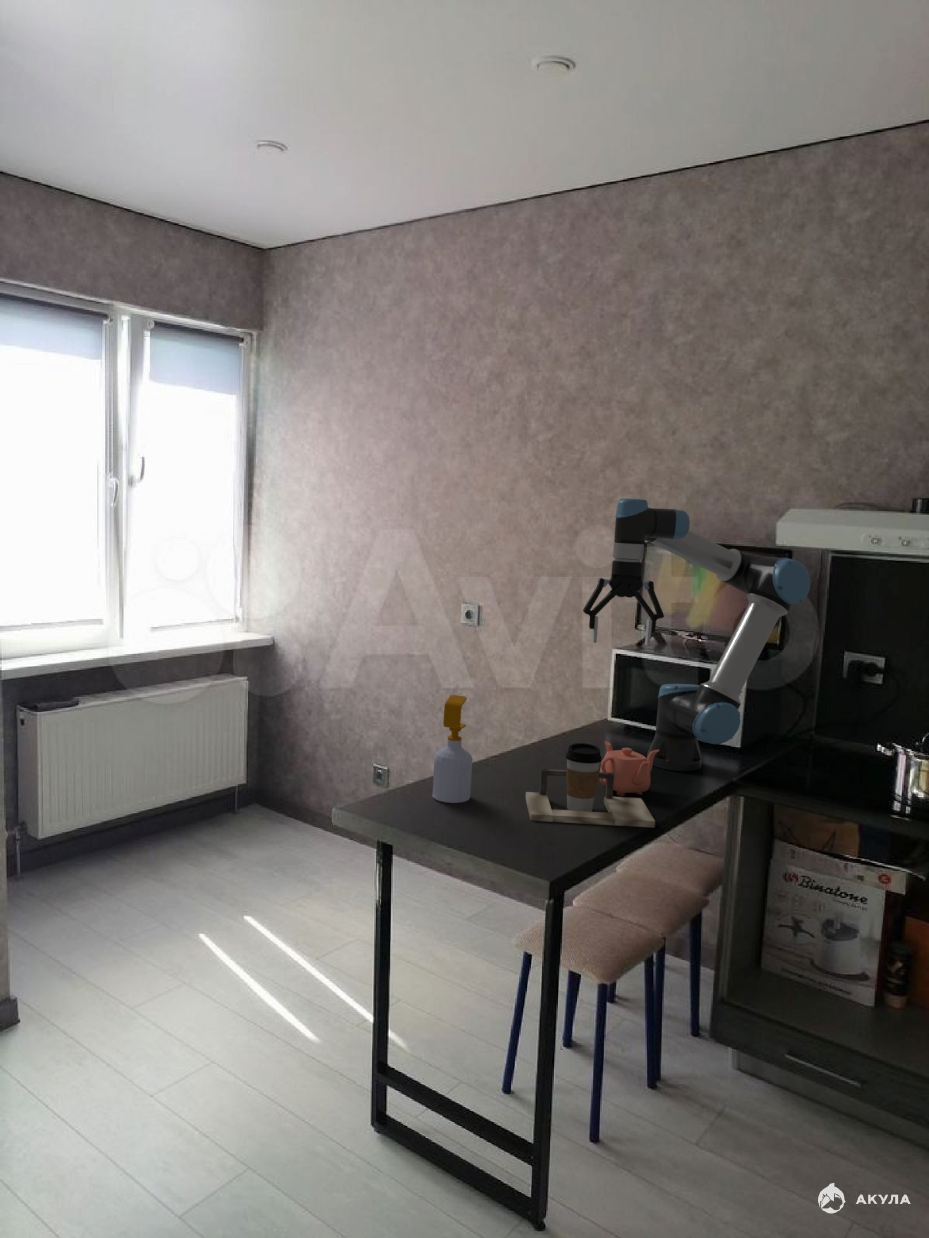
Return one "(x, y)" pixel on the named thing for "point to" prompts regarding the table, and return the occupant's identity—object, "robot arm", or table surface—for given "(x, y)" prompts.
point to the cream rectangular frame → (618, 808)
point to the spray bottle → (452, 759)
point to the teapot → (627, 770)
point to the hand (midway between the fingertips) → (620, 643)
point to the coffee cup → (582, 776)
